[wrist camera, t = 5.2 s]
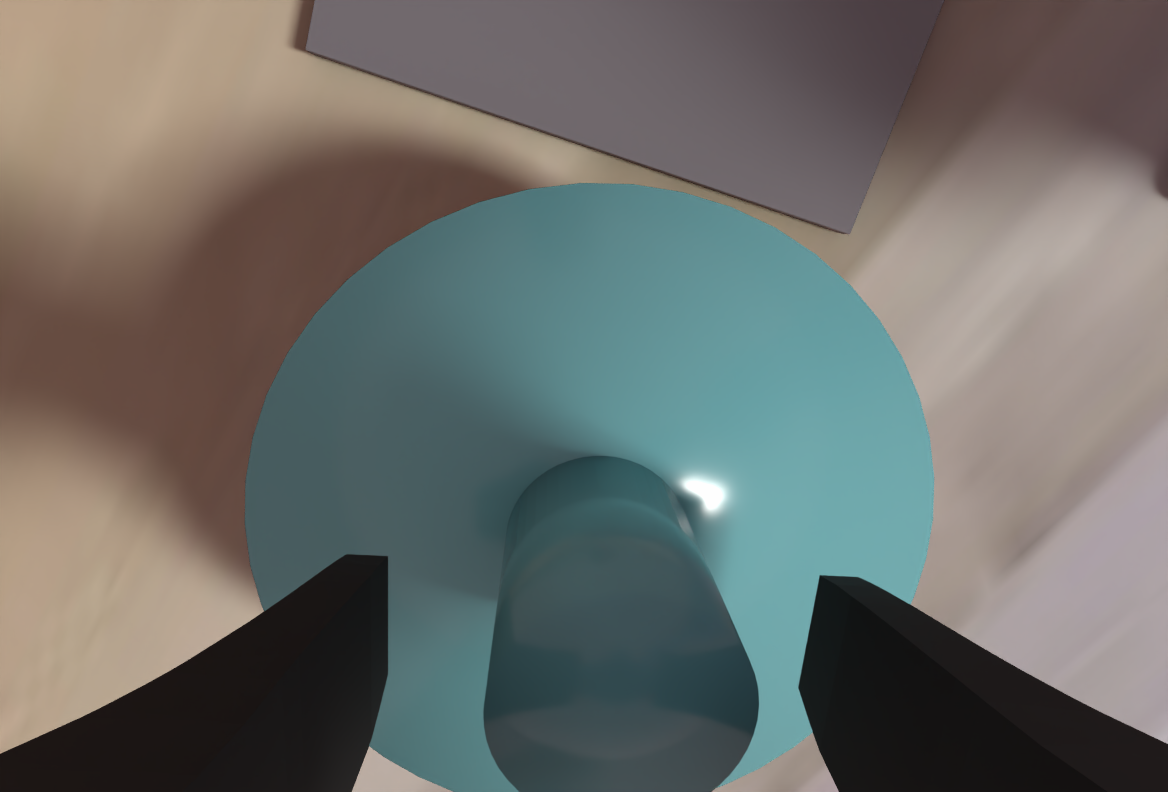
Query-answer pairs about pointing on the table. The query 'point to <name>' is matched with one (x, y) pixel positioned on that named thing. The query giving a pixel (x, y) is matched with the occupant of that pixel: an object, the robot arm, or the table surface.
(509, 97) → the mat
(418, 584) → the lid
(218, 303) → the table surface
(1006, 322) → the table surface
